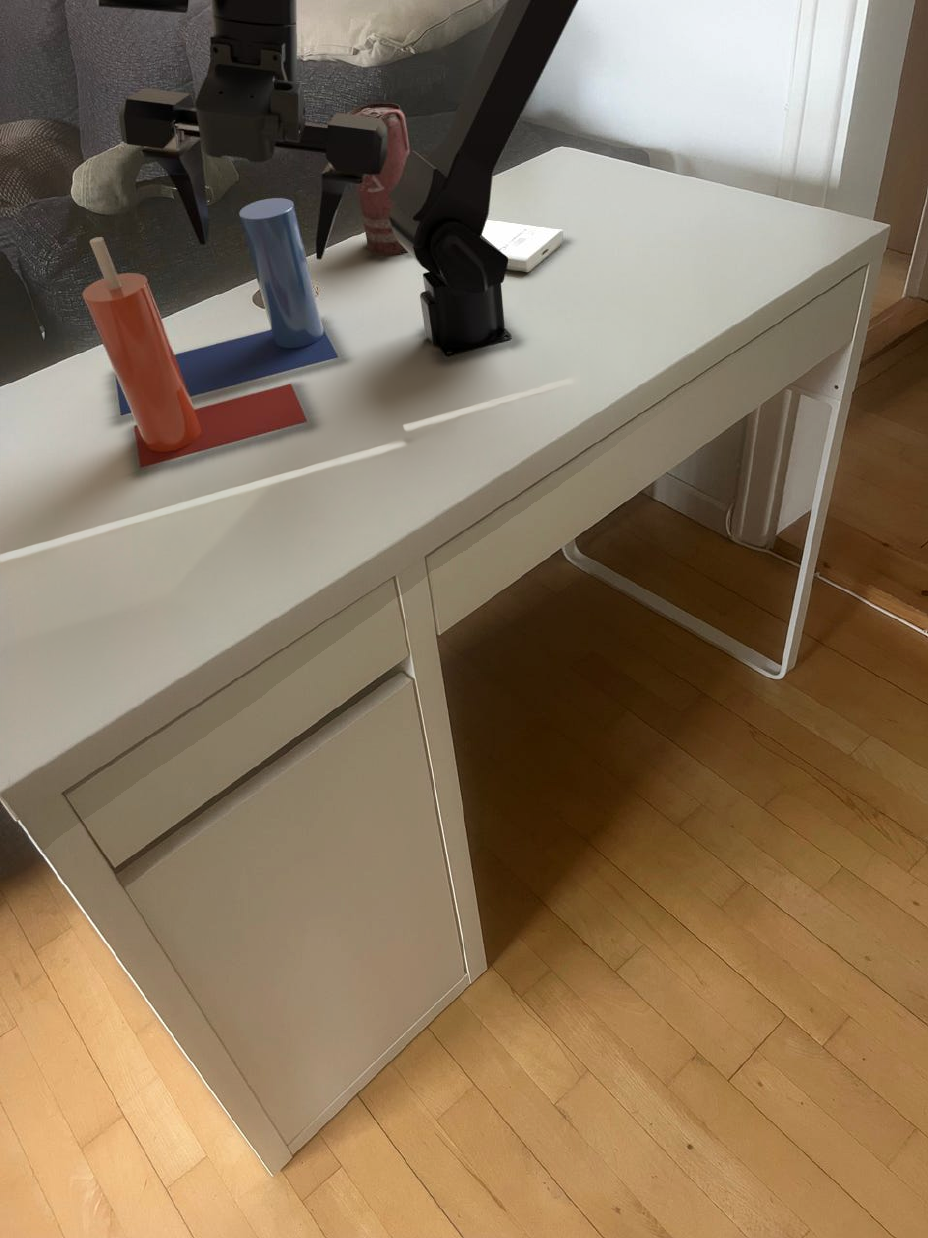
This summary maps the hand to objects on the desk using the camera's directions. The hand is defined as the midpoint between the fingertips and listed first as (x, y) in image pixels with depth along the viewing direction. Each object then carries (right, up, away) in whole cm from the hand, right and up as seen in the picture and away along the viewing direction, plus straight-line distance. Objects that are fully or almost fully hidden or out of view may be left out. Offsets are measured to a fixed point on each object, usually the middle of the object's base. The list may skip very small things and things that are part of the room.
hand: (262, 250), depth 72 cm
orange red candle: (-8, -14, +4) cm, 17 cm away
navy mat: (-6, -6, +13) cm, 15 cm away
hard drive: (+19, +10, +25) cm, 33 cm away
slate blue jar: (0, -2, +15) cm, 15 cm away
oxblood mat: (-5, -13, +5) cm, 15 cm away
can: (+9, +12, +29) cm, 32 cm away
